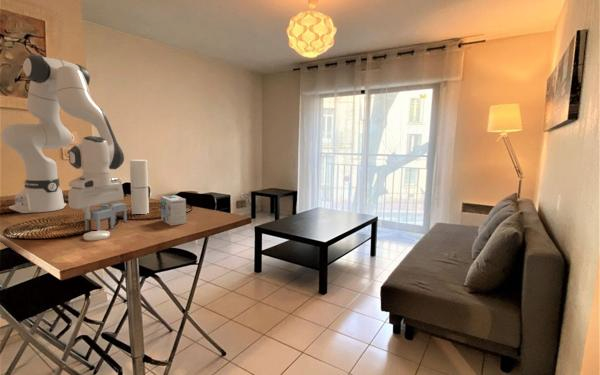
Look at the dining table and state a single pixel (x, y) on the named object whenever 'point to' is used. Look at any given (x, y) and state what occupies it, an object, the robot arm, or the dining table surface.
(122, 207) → the cover high
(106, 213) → the cover low
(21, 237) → the dining table surface
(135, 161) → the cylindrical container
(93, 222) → the block
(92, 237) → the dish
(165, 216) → the light bulb box
